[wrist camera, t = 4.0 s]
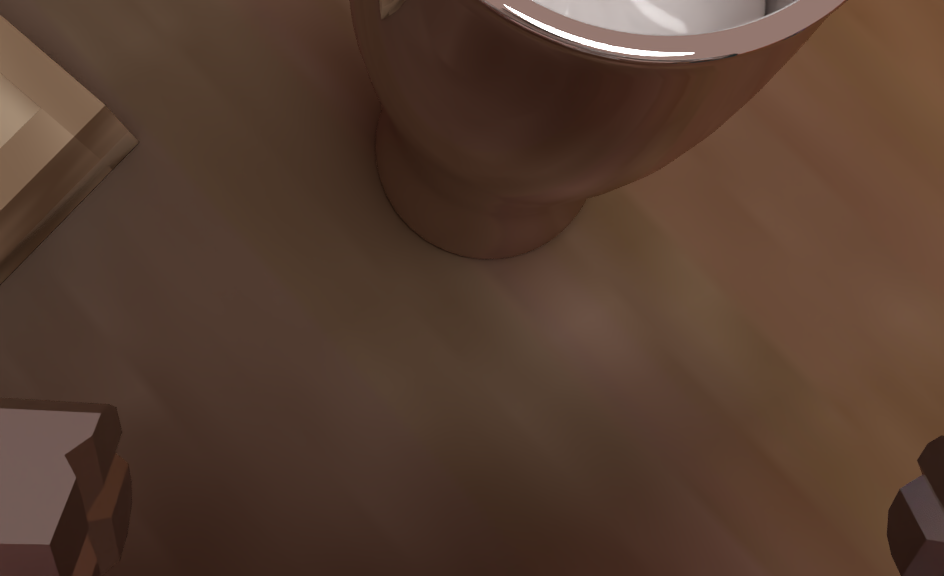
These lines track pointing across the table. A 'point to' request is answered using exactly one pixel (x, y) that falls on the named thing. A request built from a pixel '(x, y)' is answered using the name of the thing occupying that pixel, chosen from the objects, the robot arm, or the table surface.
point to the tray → (47, 145)
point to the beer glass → (554, 101)
